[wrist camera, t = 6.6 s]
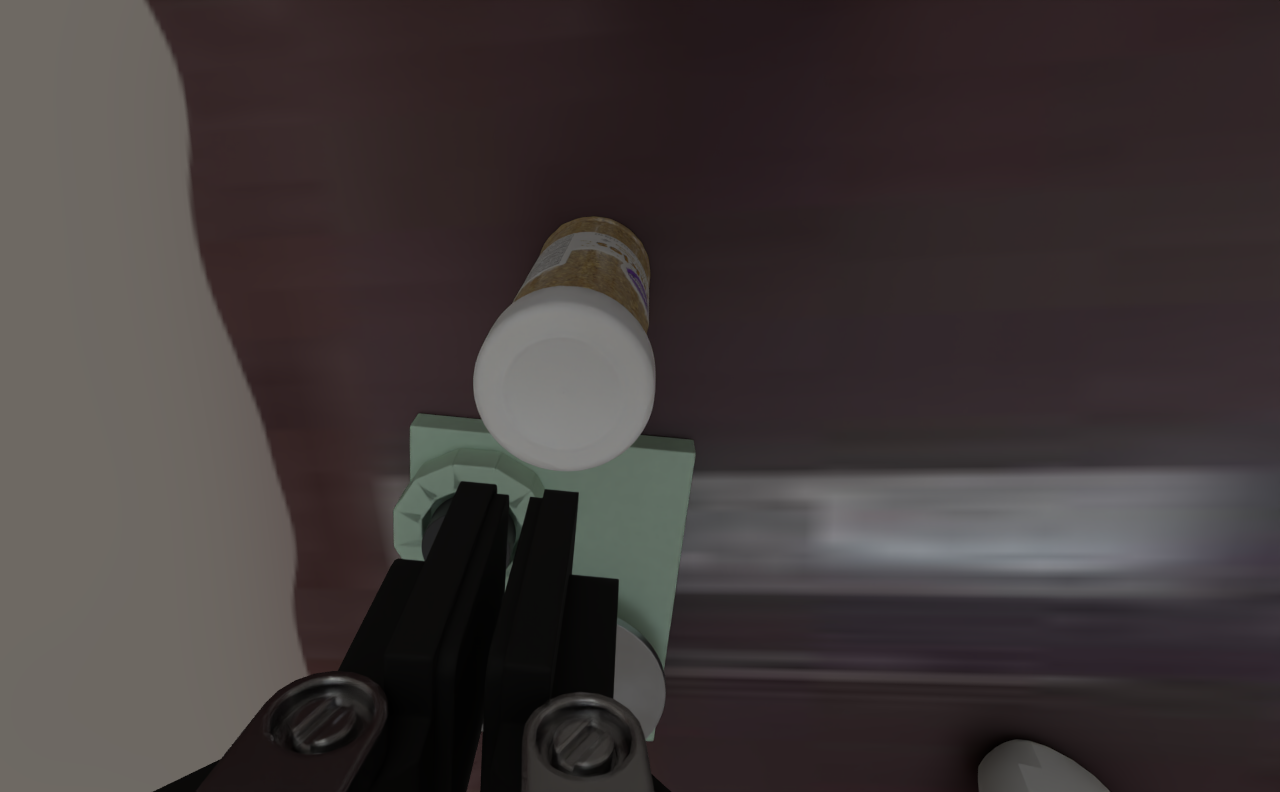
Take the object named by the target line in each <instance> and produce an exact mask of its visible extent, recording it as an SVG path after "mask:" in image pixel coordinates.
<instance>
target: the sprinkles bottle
mask: <svg viewBox="0 0 1280 792" xmlns="http://www.w3.org/2000/svg"><path fill="white" fill-rule="evenodd" d="M649 284H650V265H649V258H648V255H647V253H646V251H645V249H644V247H643V244H642V243H641V241H640V240H639V239H638V238H637V237H636V235H635V234H634V233H632V232H631V231H630V230H629V229H628V228H627V227H625V226H623V225H622V224H620V223H618V222H616V221H614V220H612V219H609V218H603V217H596V216H592V217H582V218H578V219H575V220H572V221H570V222H567V223H565V224H563V225H561V226H560V227H559V228H558V229H557V230H556V231H555V232H554V233H553V234H551V236H550V237H549V238H548V239H547V241H546V242H545V244H544V246H543V248H542V250H541V253H540V256H539V258H538V259H537V261H536V263H535V264H534V266H533V268H532V270H531V271H530V273H529V275H528V277H527V278H526V280H525V282H524V284H523V285H522V287H521V289H520V290H519V292H518V294H517V296H516V297H515V299H514V301H513V303H512V304H511V305H510V306H509V307H508V308H507V309H506V310H505V311H504V312H503V313H502V314H501V315H500V316H499V318H498V319H497V320H496V322H495V324H494V325H493V327H492V328H491V330H490V332H489V333H488V335H487V337H486V339H485V341H484V343H483V345H482V347H481V350H480V352H479V354H478V357H477V361H476V364H475V370H474V377H473V389H474V398H475V402H476V406H477V409H478V412H479V414H480V416H481V419H482V421H483V423H484V425H485V427H486V428H487V430H488V431H489V432H490V434H491V435H492V436H493V438H494V439H495V440H496V441H497V442H498V443H499V444H500V445H501V446H502V447H503V448H504V449H506V450H507V451H508V452H509V453H511V454H512V455H514V456H515V457H517V458H518V459H520V460H522V461H524V462H526V463H528V464H531V465H534V466H536V467H539V468H543V469H548V470H554V471H581V470H586V469H590V468H594V467H597V466H600V465H603V464H605V463H607V462H609V461H611V460H612V459H615V458H616V457H618V456H619V455H621V454H622V453H623V452H624V451H626V450H627V449H628V448H629V447H630V446H631V445H632V444H633V443H634V442H635V441H636V440H637V438H638V437H639V436H640V434H641V433H642V431H643V430H644V428H645V426H646V424H647V422H648V420H649V418H650V415H651V412H652V408H653V403H654V396H655V361H654V355H653V350H652V347H651V344H650V342H649V339H648V337H647V330H648V326H649Z"/></svg>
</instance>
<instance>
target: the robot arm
mask: <svg viewBox="0 0 1280 792" xmlns="http://www.w3.org/2000/svg"><path fill="white" fill-rule="evenodd" d="M497 492H498V491H497V485H496V484H488V483H478V482H467V481H461V482H460V484H459V486H458V488H457V490H456V493H455V495H454V497H453V499H452V502H451V504H450V506H449V508H448V511H447V513H446V515H445V517H444V520H443V522H442V524H441V527H440V529H439V531H438V533H437V536H436V538H435V540H434V542H433V545H432V547H431V549H430V551H429V554H428V556H427V558H426V561H420V560H409V559H396V560H395V561H394V562H393V564H392V565H391V567H390V569H389V571H388V573H387V575H386V577H385V579H384V581H383V583H382V585H381V587H380V589H379V591H378V593H377V595H376V597H375V599H374V601H373V603H372V605H371V607H370V608H369V610H368V612H367V614H366V616H365V618H364V620H363V622H362V624H361V626H360V628H359V630H358V632H357V634H356V636H355V638H354V640H353V642H352V644H351V646H350V648H349V650H348V652H347V654H346V656H345V658H344V660H343V662H342V664H341V666H340V668H339V670H338V671H330V672H323V673H316V674H312V675H309V676H307V677H304V678H301V679H298V680H295V681H294V682H292V683H290V684H289V685H287V686H285V687H283V688H282V689H280V690H279V691H277V692H276V693H275V694H274V695H273V696H272V697H271V698H270V699H269V700H268V701H267V702H266V703H265V704H264V705H263V707H262V708H261V709H260V710H259V712H258V713H257V714H256V715H255V717H254V718H253V719H252V720H251V722H250V723H249V724H248V726H247V727H246V728H245V729H244V730H243V732H242V733H241V735H240V736H239V737H238V738H237V740H236V741H235V742H234V743H233V744H232V746H231V747H230V748H229V749H228V751H227V752H226V753H225V755H224V756H223V757H222V759H220V760H218V761H216V762H214V763H212V764H210V765H208V766H206V767H203V768H201V769H199V770H197V771H195V772H193V773H191V774H189V775H187V776H185V777H183V778H181V779H179V780H177V781H174V782H172V783H170V784H168V785H166V786H164V787H162V788H160V789H158V790H156V791H153V792H466V791H467V787H468V783H469V779H470V775H471V771H472V766H473V762H474V758H475V754H476V750H477V746H478V742H479V738H480V734H481V730H482V726H483V741H482V766H481V790H480V792H671V791H670V790H669V789H667V788H666V787H665V786H664V785H663V784H662V783H661V782H660V781H659V780H658V779H656V778H655V777H654V776H653V775H652V774H651V770H650V764H649V758H648V752H647V746H646V741H645V735H644V733H643V730H642V727H641V724H640V722H639V720H638V719H637V718H636V717H635V716H634V714H633V713H632V712H631V711H630V710H629V709H628V708H627V707H625V706H624V705H622V704H621V703H619V702H618V701H616V700H615V699H613V698H614V676H615V655H616V634H617V613H618V592H619V579H615V578H604V577H593V576H582V575H572V568H573V557H574V546H575V535H576V523H577V512H578V501H579V492H571V491H561V490H550V489H545V490H544V494H543V498H538V497H530V499H529V503H528V507H527V510H526V514H525V518H524V522H523V525H522V529H521V533H520V537H519V541H518V544H517V548H516V552H515V556H514V560H513V563H512V567H511V571H510V575H509V579H508V582H507V586H506V590H505V579H506V559H507V539H508V520H509V495H507V494H497Z"/></svg>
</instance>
